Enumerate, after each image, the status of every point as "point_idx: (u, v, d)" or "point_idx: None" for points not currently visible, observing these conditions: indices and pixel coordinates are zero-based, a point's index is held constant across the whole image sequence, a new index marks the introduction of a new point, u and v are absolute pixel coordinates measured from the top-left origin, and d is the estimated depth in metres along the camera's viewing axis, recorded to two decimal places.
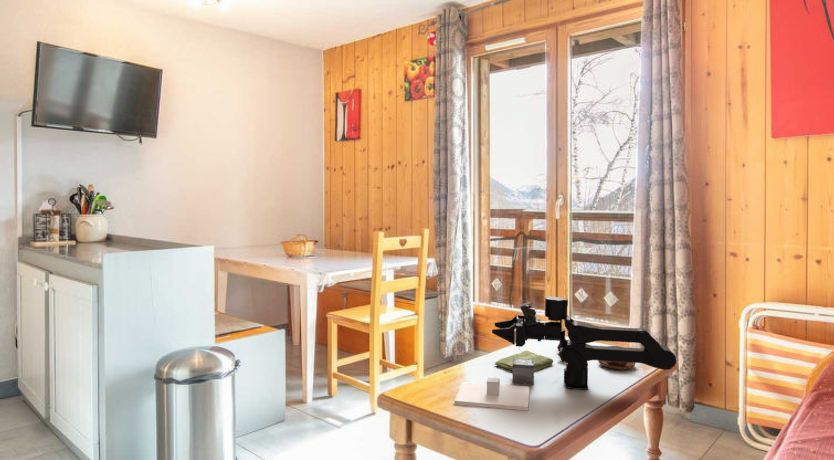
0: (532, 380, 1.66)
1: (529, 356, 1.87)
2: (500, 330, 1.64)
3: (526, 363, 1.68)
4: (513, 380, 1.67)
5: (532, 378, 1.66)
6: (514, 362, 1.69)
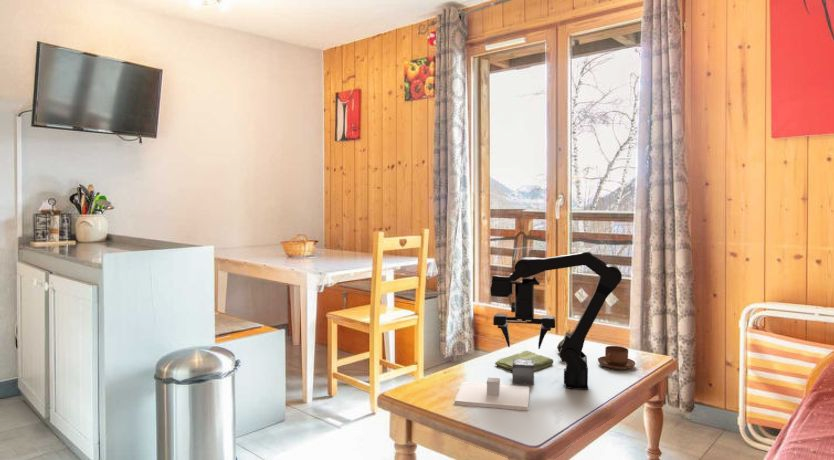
0: (532, 380, 1.66)
1: (529, 356, 1.87)
2: None
3: (526, 363, 1.68)
4: (513, 380, 1.67)
5: (532, 378, 1.66)
6: (514, 362, 1.69)
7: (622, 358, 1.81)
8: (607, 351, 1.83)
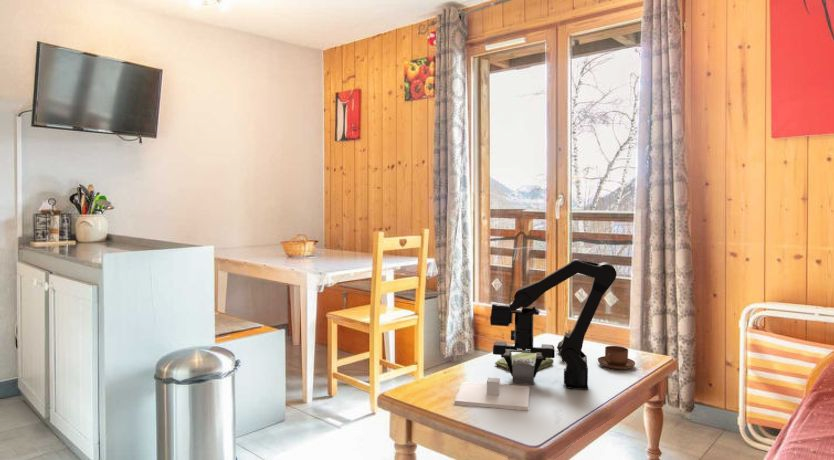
0: (532, 380, 1.66)
1: (529, 356, 1.87)
2: None
3: (526, 363, 1.68)
4: (513, 380, 1.67)
5: (532, 378, 1.66)
6: (514, 362, 1.69)
7: (622, 358, 1.81)
8: (607, 351, 1.84)
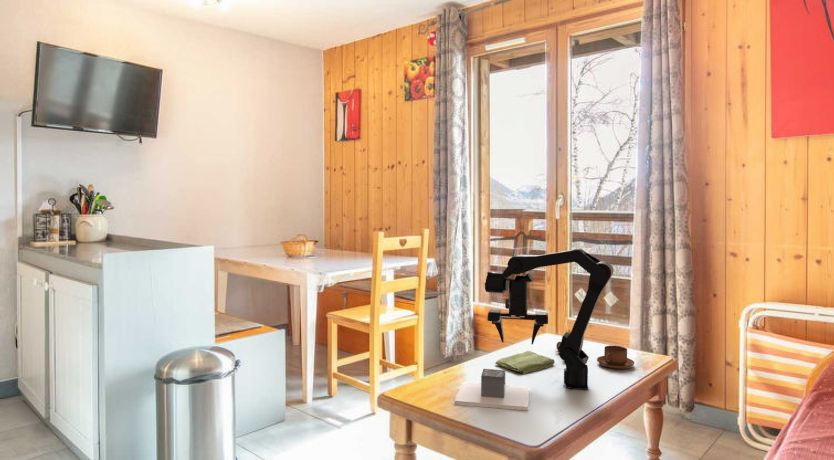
0: (502, 393, 1.52)
1: (530, 356, 1.87)
2: None
3: (496, 374, 1.54)
4: (482, 393, 1.53)
5: (502, 391, 1.52)
6: (483, 373, 1.55)
7: (621, 357, 1.81)
8: (606, 351, 1.84)
